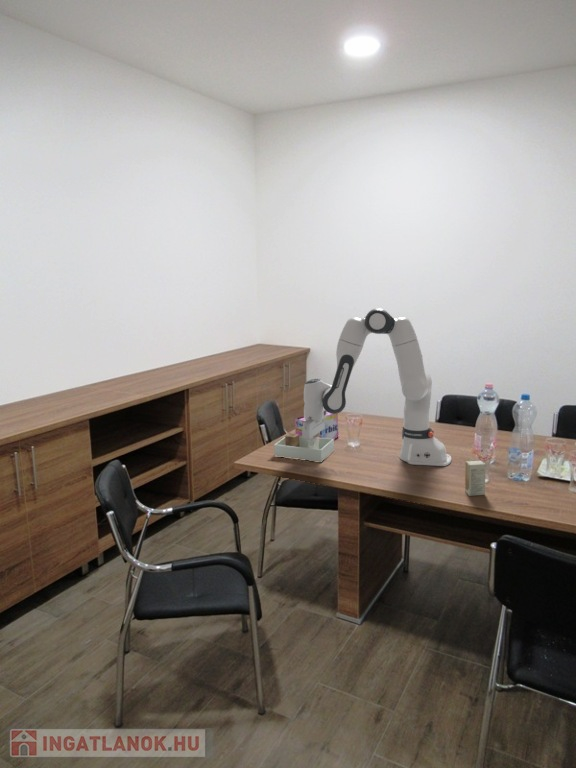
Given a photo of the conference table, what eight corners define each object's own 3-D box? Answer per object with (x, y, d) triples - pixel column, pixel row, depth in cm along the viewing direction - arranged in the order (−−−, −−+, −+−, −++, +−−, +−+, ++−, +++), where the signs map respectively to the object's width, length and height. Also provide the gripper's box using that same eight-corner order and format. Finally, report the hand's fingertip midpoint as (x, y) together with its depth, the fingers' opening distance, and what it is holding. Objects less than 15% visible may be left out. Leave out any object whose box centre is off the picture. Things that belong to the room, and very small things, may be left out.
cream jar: (321, 447, 247) (321, 433, 246) (317, 451, 242) (317, 436, 241) (310, 446, 249) (310, 432, 248) (306, 450, 245) (306, 435, 243)
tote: (334, 451, 251) (333, 439, 250) (321, 463, 236) (321, 450, 235) (289, 446, 261) (288, 434, 259) (274, 457, 245) (273, 444, 244)
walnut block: (299, 450, 252) (299, 434, 250) (295, 453, 247) (295, 437, 246) (289, 449, 254) (289, 433, 252) (285, 452, 249) (285, 436, 248)
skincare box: (480, 490, 202) (482, 460, 199) (485, 495, 197) (486, 464, 195) (463, 491, 201) (465, 460, 199) (468, 496, 197) (469, 464, 195)
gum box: (329, 434, 278) (329, 409, 275) (340, 437, 272) (340, 412, 269) (295, 444, 263) (294, 418, 260) (305, 448, 257) (305, 421, 255)
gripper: (311, 420, 232) (312, 451, 235) (327, 409, 250) (327, 438, 253) (298, 419, 235) (298, 449, 237) (315, 408, 253) (315, 436, 256)
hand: (314, 443), depth 245 cm, fingers closed on cream jar, 5 cm apart
